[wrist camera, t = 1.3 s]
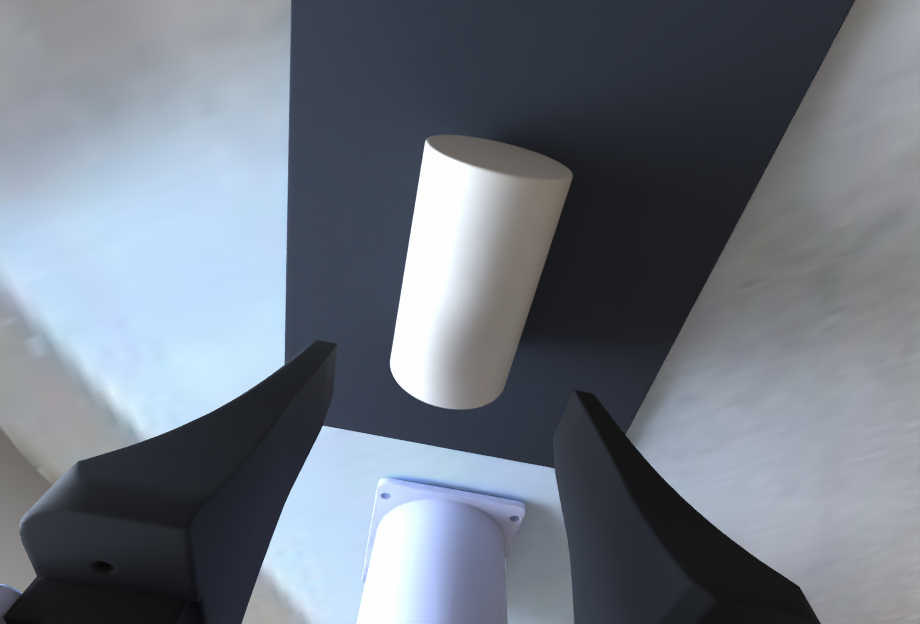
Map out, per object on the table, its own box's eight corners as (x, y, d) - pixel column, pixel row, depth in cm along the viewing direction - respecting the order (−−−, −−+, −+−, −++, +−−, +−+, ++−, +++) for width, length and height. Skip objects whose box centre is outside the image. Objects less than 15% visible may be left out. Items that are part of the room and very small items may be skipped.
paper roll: (502, 349, 20) (506, 423, 16) (399, 329, 19) (378, 398, 16) (562, 155, 16) (586, 192, 12) (433, 126, 15) (416, 153, 12)
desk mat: (601, 471, 24) (603, 477, 23) (286, 412, 23) (283, 418, 22) (884, -71, 13) (895, -74, 12) (300, -227, 12) (294, -235, 11)
